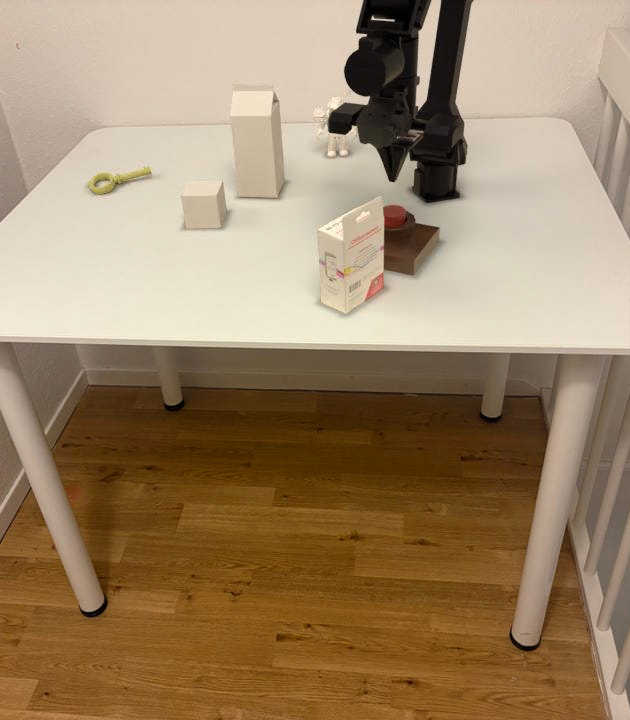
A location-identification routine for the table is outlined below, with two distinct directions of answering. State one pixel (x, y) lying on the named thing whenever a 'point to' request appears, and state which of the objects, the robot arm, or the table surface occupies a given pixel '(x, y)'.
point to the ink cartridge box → (352, 256)
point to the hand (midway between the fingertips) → (392, 181)
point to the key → (115, 179)
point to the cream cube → (204, 204)
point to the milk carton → (257, 140)
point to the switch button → (394, 215)
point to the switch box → (408, 245)
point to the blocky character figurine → (320, 113)
